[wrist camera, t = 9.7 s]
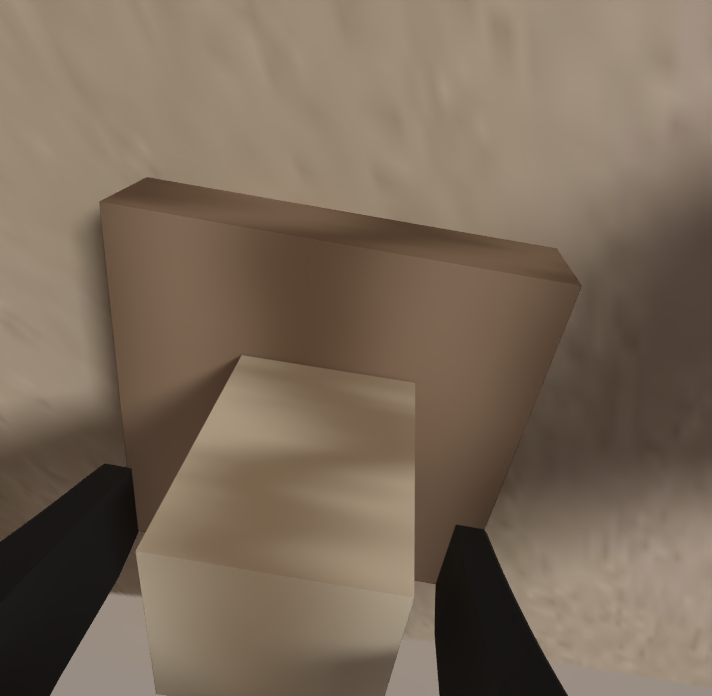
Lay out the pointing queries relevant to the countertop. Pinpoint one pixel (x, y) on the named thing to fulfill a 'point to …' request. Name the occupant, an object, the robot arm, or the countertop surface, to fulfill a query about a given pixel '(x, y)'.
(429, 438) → the walnut block
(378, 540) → the beech block
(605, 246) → the countertop surface
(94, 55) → the countertop surface
